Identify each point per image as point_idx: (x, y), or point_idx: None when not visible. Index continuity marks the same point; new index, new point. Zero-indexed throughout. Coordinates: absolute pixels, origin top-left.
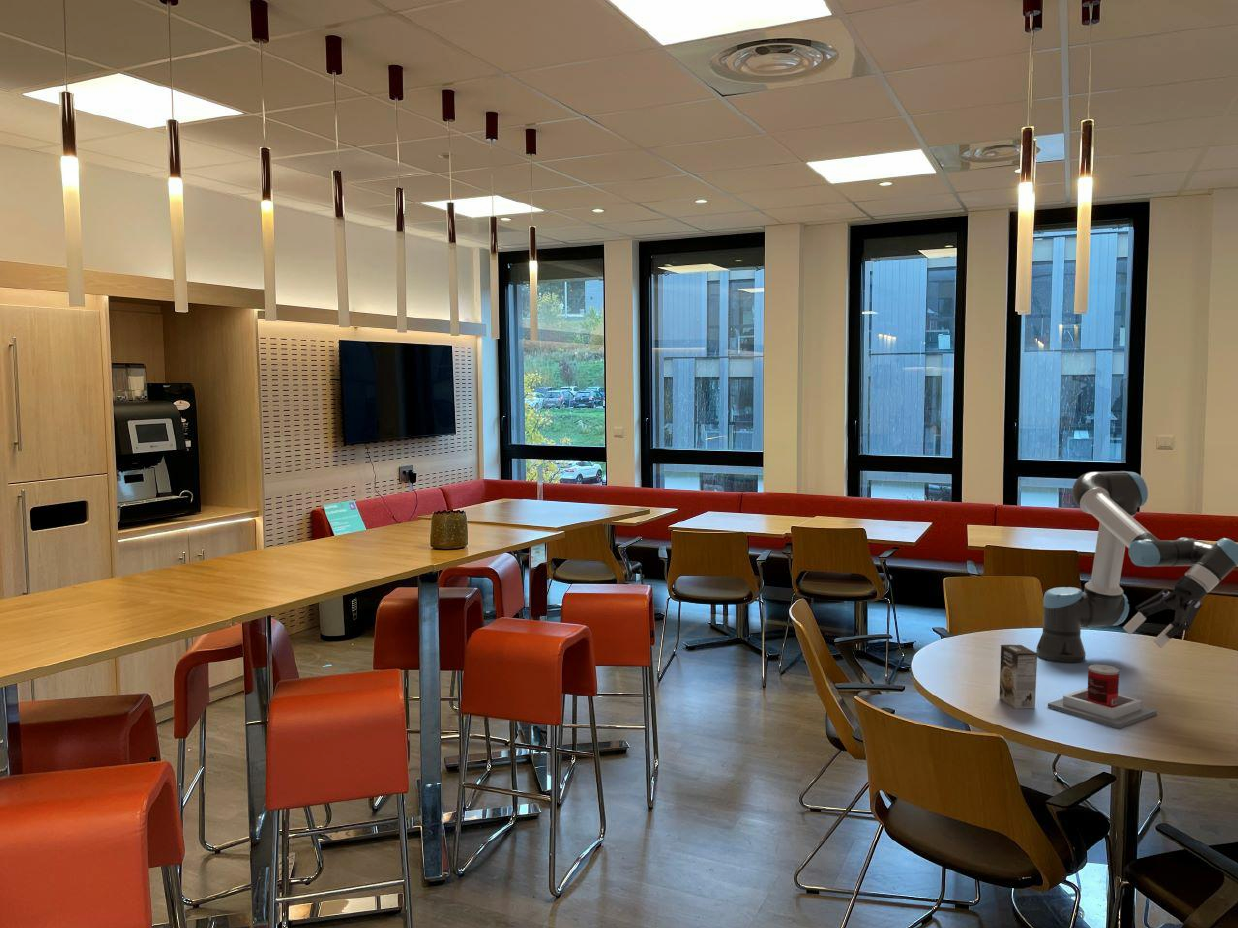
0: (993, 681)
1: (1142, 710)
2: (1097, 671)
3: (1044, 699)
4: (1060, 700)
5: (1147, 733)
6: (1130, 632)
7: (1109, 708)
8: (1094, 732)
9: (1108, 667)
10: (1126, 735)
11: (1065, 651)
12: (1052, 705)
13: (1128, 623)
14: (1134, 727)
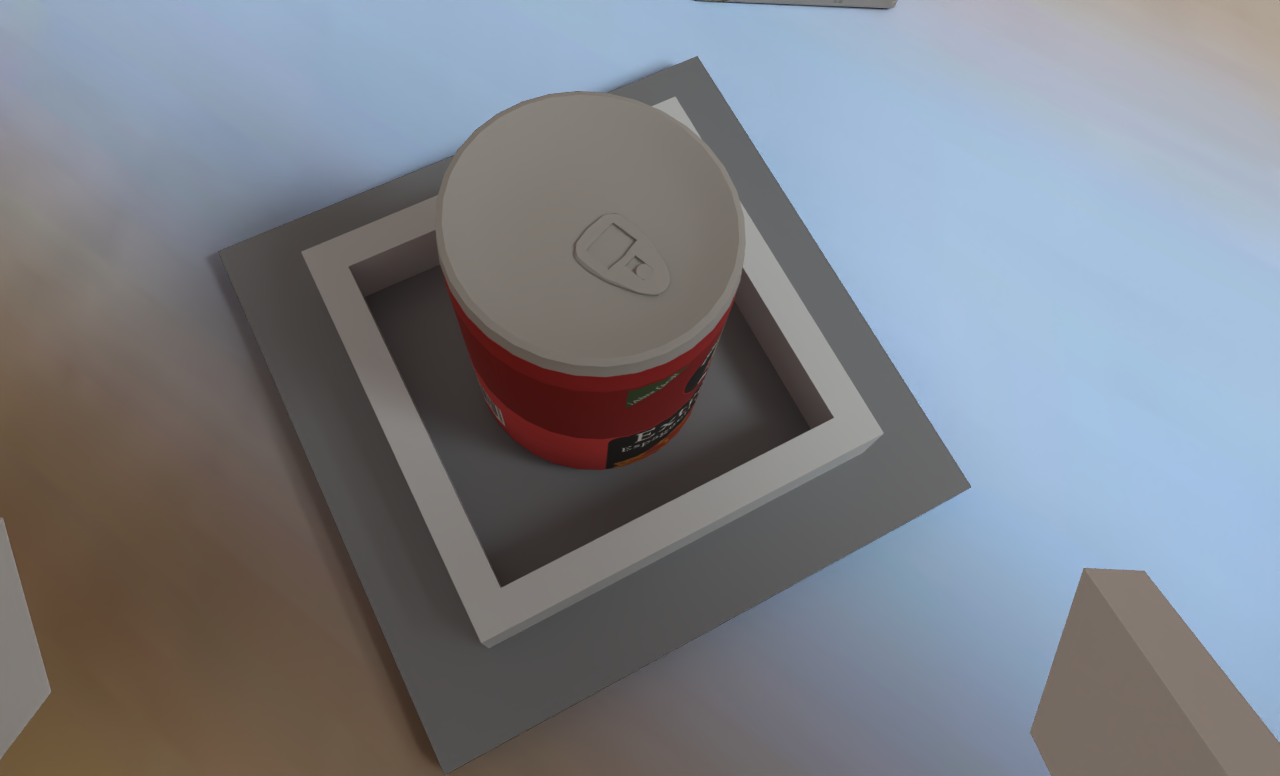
0: (1239, 34)
1: (461, 638)
2: (510, 107)
3: (856, 143)
4: (750, 166)
5: (96, 400)
6: (1049, 732)
7: (344, 242)
8: (208, 83)
9: (655, 319)
10: (104, 237)
11: None
12: (666, 73)
13: (1179, 680)
14: (225, 389)
